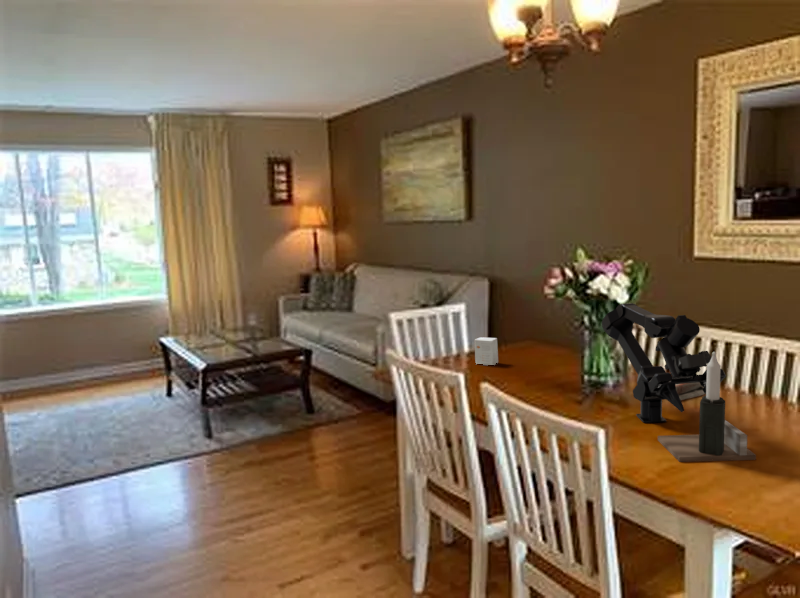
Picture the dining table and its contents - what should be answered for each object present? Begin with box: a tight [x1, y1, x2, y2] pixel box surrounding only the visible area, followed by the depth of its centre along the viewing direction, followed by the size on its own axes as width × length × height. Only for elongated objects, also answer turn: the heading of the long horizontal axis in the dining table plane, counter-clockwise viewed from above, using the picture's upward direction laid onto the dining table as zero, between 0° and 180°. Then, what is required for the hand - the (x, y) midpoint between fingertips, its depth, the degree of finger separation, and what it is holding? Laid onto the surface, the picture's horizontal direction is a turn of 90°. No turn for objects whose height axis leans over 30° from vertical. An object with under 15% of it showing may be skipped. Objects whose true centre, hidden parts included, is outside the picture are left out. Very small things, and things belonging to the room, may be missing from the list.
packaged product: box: [675, 382, 705, 401], centre depth 197 cm, size 18×5×10 cm
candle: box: [698, 351, 726, 456], centre depth 146 cm, size 5×5×25 cm
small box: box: [474, 336, 499, 366], centre depth 247 cm, size 8×6×10 cm
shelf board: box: [657, 419, 757, 463], centre depth 152 cm, size 14×18×6 cm
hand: (700, 409), depth 151 cm, fingers open, 9 cm apart
